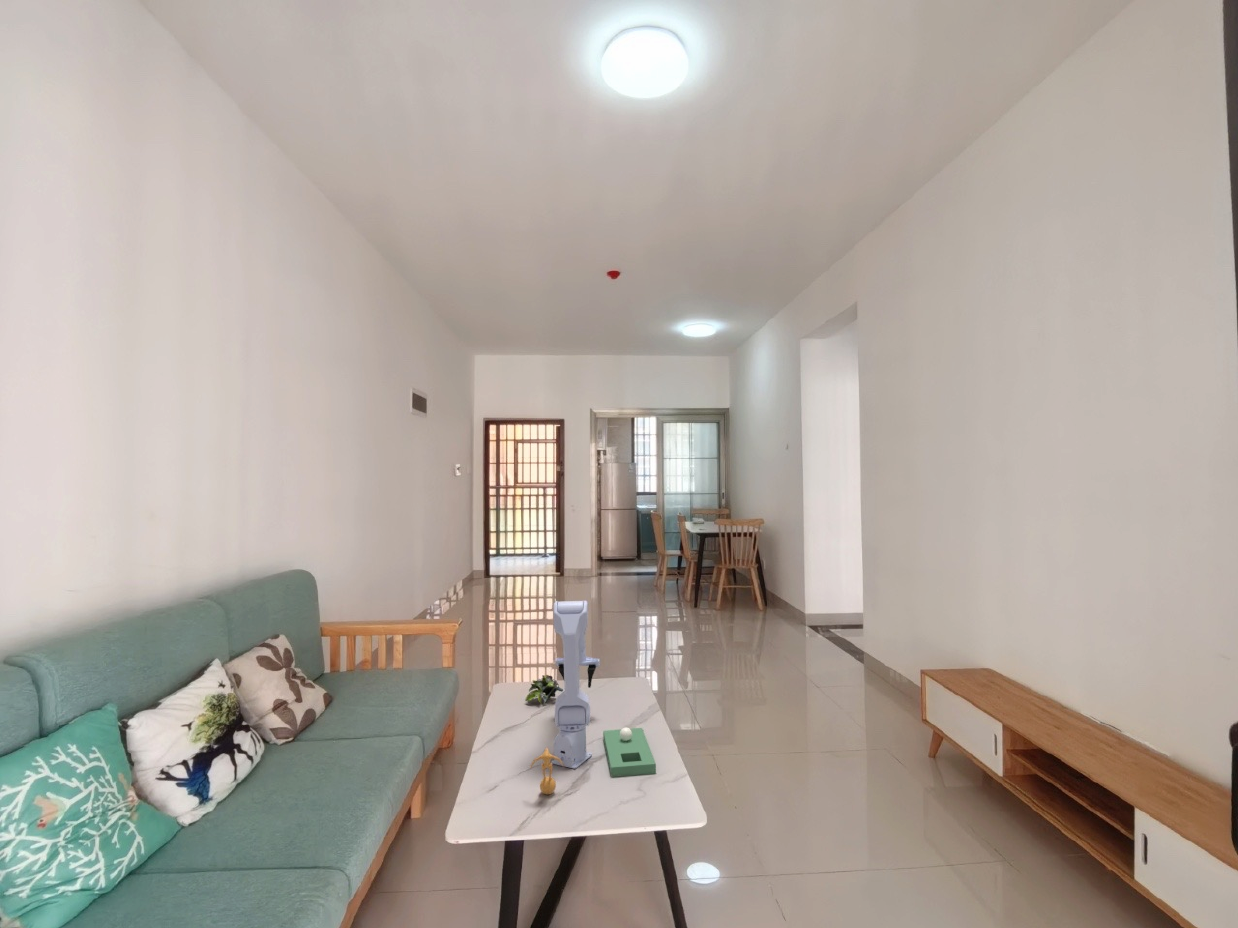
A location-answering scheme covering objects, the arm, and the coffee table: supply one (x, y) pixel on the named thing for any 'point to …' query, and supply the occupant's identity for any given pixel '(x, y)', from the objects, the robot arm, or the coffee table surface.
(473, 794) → the coffee table surface
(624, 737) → the ball
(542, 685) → the passion flower
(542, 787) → the figurine
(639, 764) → the putting mat
